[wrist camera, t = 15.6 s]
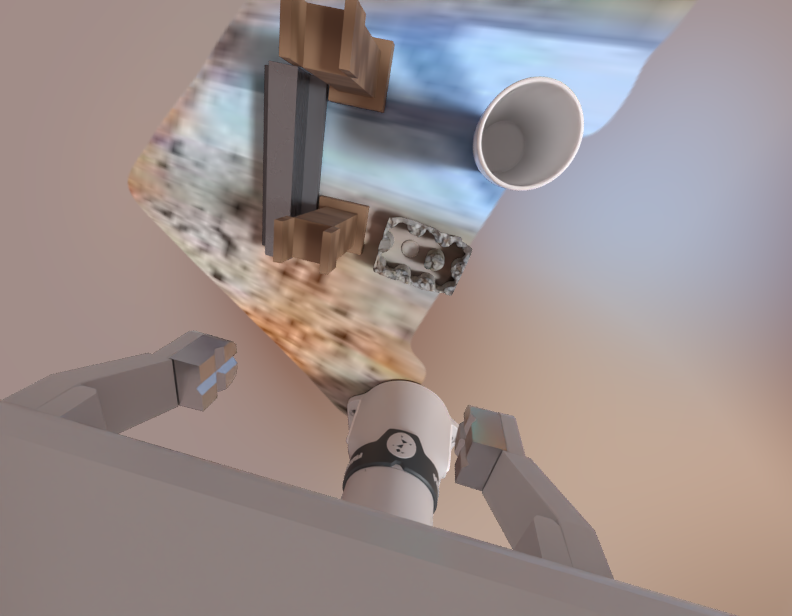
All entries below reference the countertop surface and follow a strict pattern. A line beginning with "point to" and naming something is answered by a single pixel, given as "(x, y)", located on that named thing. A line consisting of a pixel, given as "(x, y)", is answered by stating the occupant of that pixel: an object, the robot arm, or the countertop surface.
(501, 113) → the drinking glass
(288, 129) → the rail
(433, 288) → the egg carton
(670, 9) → the countertop surface
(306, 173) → the grey flat bar
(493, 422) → the robot arm
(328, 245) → the post
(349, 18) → the post
